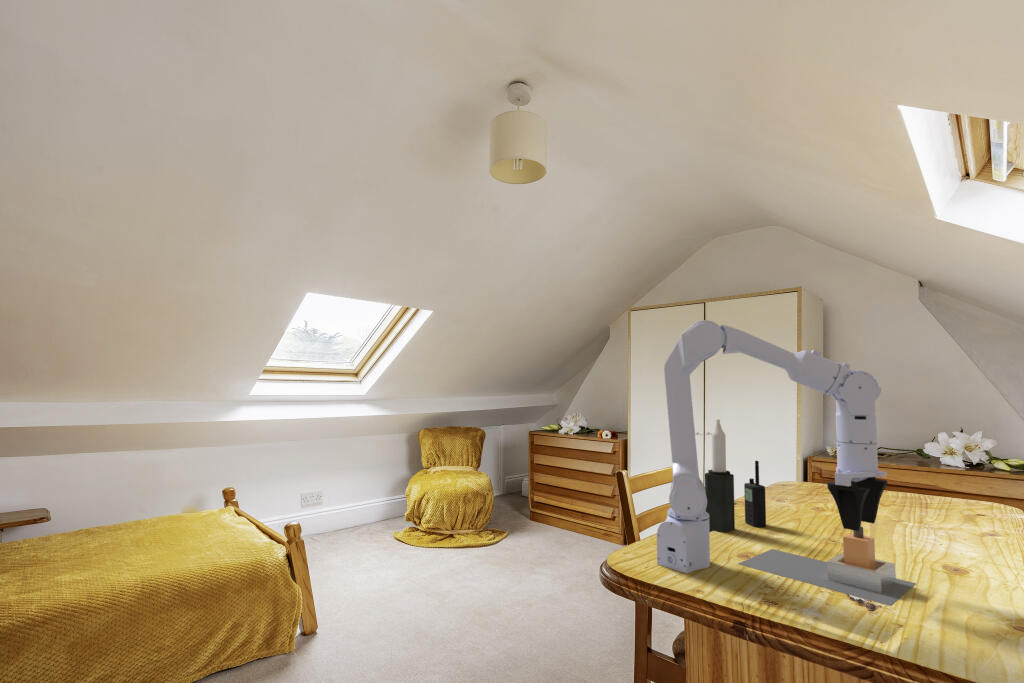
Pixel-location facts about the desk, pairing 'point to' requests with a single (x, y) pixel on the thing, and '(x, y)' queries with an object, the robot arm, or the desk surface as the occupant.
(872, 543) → the connector plug
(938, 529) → the desk surface
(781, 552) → the mat
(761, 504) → the walkie-talkie
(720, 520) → the black nozzle bottle
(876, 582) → the end holder
